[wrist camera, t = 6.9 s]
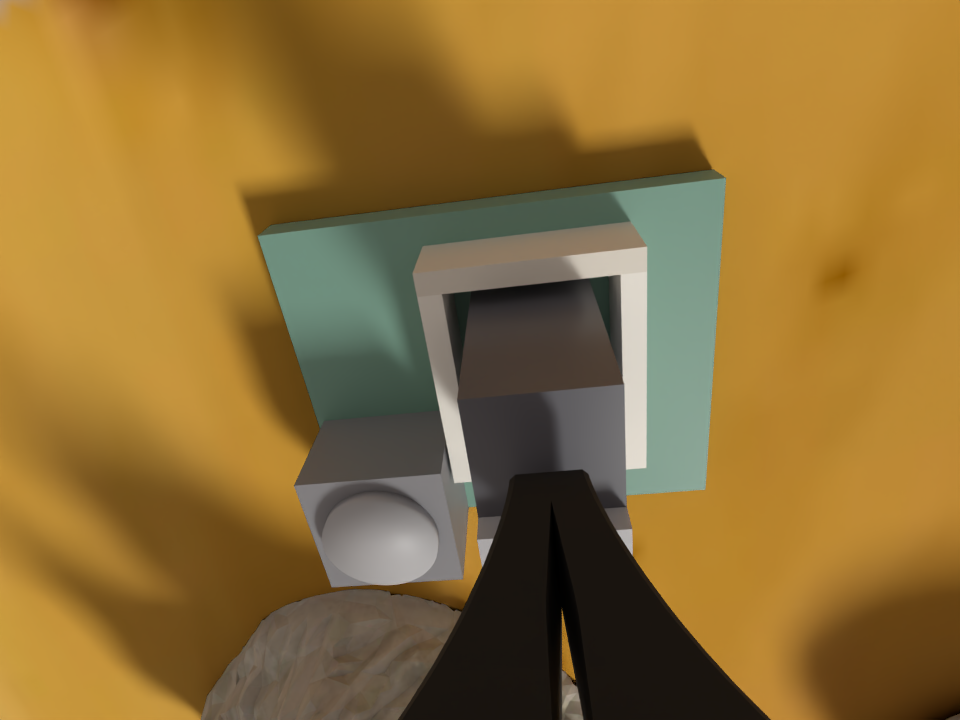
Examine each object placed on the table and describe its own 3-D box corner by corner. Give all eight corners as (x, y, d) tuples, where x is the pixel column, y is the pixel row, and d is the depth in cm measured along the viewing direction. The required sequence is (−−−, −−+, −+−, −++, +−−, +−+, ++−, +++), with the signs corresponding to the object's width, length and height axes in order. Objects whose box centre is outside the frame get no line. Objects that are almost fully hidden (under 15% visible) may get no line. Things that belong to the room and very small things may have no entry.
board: (713, 169, 15) (782, 216, 11) (696, 469, 20) (741, 573, 16) (270, 225, 16) (199, 284, 13) (354, 495, 21) (321, 598, 17)
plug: (584, 265, 16) (631, 403, 10) (590, 392, 18) (633, 569, 12) (472, 278, 16) (454, 419, 10) (491, 401, 18) (484, 578, 12)
